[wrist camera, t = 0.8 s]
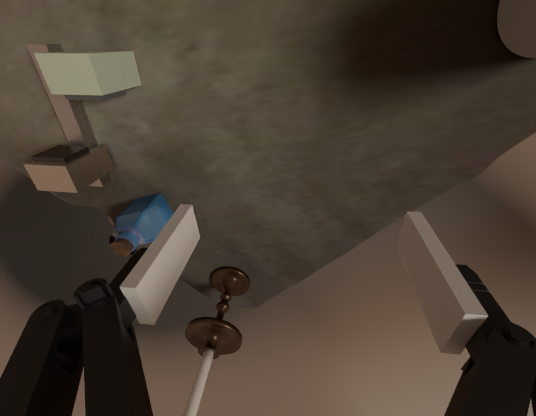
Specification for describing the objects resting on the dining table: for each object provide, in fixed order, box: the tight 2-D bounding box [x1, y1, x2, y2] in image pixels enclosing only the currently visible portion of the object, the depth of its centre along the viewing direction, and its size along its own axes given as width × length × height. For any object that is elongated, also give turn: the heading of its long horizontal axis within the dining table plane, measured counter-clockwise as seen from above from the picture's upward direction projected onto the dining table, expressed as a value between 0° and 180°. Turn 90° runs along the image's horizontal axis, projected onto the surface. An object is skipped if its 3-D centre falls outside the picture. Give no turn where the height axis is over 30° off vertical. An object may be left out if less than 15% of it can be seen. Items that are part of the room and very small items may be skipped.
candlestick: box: [183, 267, 250, 416], centre depth 46 cm, size 11×11×35 cm
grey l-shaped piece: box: [23, 44, 114, 193], centre depth 39 cm, size 22×7×10 cm, turn 0°
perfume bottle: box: [111, 193, 173, 257], centre depth 46 cm, size 6×6×12 cm
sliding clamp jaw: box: [34, 51, 141, 101], centre depth 34 cm, size 5×7×9 cm
